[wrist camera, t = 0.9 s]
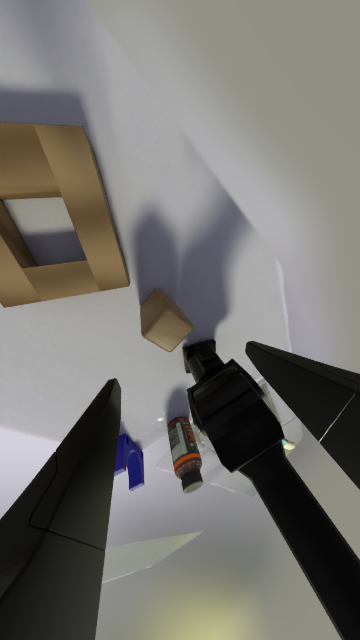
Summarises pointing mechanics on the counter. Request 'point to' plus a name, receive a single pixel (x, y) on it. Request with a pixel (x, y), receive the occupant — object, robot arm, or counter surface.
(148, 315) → the wooden block
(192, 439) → the supplement bottle
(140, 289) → the counter surface
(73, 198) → the socket collar
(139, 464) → the cable clip
